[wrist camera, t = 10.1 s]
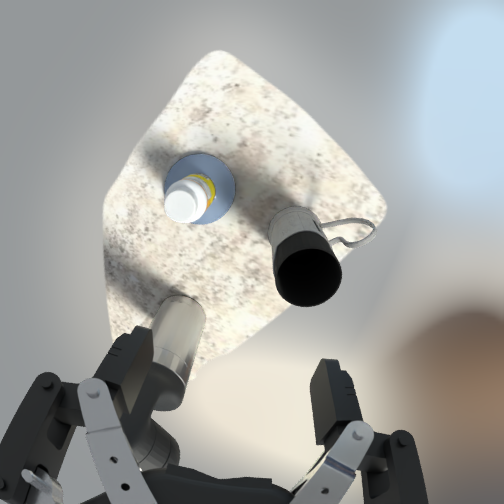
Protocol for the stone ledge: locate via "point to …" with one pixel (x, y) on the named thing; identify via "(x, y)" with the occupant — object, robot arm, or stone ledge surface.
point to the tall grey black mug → (307, 256)
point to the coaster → (219, 177)
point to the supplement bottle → (189, 198)
